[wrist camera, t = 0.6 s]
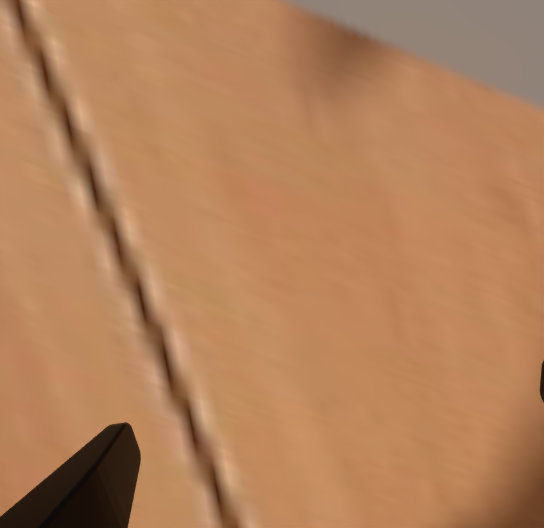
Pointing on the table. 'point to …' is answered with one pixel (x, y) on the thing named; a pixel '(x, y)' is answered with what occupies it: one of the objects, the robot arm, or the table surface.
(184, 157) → the table surface
